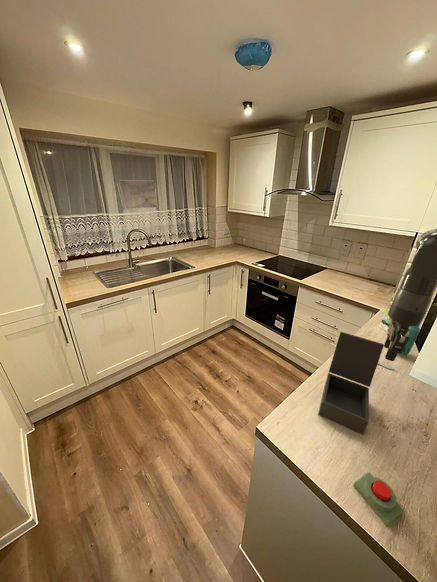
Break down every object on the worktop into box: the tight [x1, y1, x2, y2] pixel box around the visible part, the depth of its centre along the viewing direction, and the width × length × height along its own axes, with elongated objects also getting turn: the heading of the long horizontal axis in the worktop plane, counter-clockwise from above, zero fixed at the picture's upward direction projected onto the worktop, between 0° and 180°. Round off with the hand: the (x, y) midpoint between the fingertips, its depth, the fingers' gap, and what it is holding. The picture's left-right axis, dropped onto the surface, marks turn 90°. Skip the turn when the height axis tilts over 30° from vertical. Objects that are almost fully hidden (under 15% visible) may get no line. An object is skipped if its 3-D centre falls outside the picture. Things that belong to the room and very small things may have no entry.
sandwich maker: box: [317, 372, 370, 436], centre depth 84 cm, size 16×14×6 cm
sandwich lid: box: [328, 331, 385, 388], centre depth 88 cm, size 17×14×5 cm
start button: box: [372, 480, 391, 501], centre depth 59 cm, size 4×4×2 cm
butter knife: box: [330, 342, 395, 371], centre depth 111 cm, size 1×27×3 cm
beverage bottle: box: [396, 326, 421, 357], centre depth 109 cm, size 6×7×20 cm
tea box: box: [378, 304, 427, 334], centre depth 129 cm, size 15×10×15 cm, turn 102°
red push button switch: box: [352, 471, 405, 527], centre depth 60 cm, size 6×9×4 cm
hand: (388, 353), depth 71 cm, fingers open, 5 cm apart
